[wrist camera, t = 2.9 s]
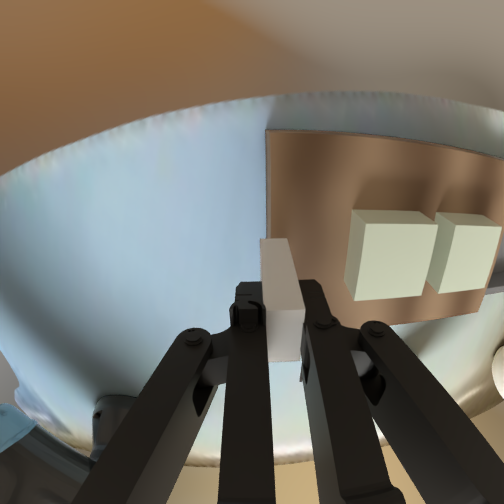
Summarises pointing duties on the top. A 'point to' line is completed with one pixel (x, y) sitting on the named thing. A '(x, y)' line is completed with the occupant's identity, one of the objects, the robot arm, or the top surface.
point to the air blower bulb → (499, 370)
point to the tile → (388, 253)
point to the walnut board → (372, 208)
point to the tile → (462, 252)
